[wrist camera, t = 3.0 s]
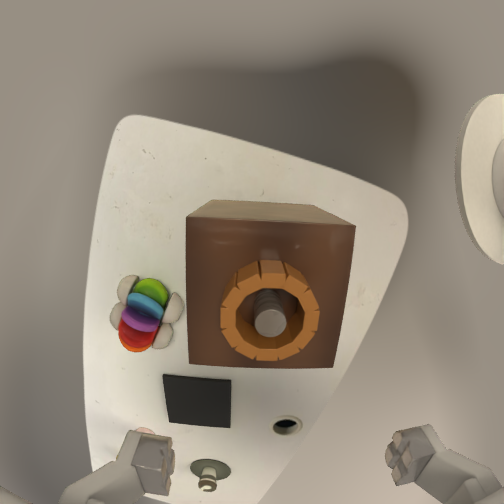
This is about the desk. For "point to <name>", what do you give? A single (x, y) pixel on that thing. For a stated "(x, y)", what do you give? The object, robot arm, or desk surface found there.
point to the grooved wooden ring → (245, 334)
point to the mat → (198, 400)
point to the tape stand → (266, 299)
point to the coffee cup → (209, 473)
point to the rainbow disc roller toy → (144, 313)
